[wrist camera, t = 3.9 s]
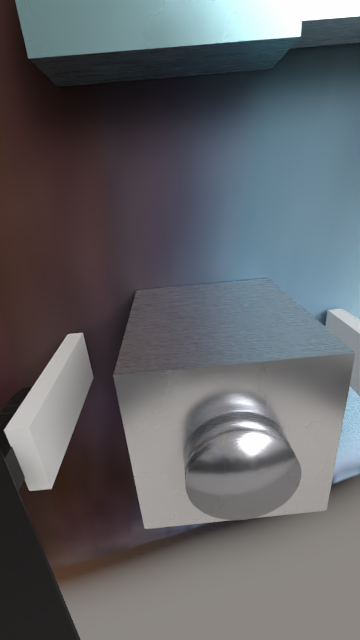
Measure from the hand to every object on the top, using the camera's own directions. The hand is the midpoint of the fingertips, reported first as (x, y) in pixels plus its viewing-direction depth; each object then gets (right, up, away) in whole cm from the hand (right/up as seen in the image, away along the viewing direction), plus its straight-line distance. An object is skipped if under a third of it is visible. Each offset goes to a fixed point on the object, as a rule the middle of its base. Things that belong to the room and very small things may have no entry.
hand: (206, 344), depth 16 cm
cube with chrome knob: (0, 0, 0) cm, 0 cm away
